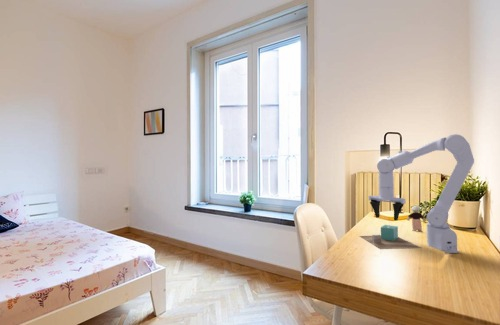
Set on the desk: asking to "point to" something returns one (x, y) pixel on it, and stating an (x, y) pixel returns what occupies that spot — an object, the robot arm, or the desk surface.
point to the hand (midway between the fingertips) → (386, 218)
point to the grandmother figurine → (416, 219)
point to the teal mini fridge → (389, 232)
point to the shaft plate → (388, 243)
